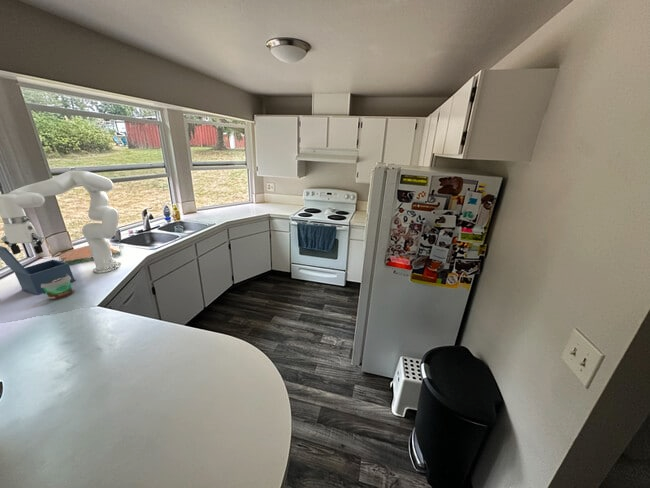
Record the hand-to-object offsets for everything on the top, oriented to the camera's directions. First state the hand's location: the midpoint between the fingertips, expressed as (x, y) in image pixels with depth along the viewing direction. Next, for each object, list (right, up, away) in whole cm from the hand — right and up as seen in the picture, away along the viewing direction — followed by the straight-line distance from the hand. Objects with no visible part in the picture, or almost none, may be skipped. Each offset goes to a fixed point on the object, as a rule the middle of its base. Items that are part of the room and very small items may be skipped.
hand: (28, 253), depth 126 cm
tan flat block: (-24, -4, +60) cm, 65 cm away
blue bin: (-12, -19, +20) cm, 31 cm away
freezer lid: (-15, -3, +4) cm, 16 cm away
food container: (+7, -24, +11) cm, 27 cm away
